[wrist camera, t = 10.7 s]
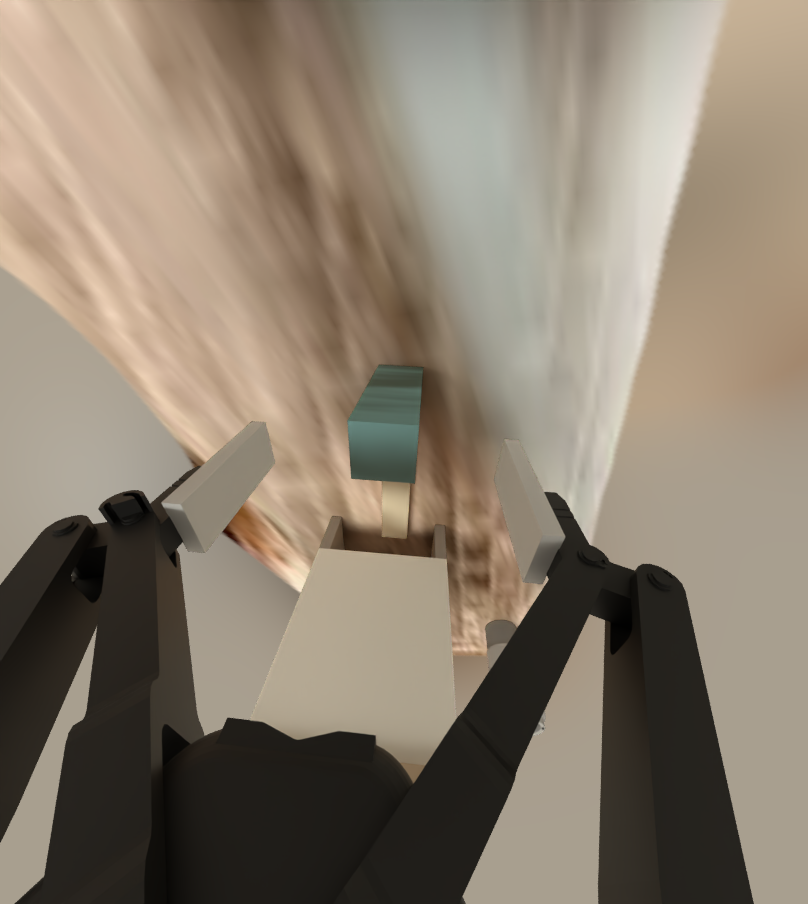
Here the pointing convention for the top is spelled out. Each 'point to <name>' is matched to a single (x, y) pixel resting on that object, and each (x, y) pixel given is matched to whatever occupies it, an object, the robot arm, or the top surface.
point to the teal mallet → (388, 440)
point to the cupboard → (367, 652)
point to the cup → (496, 642)
